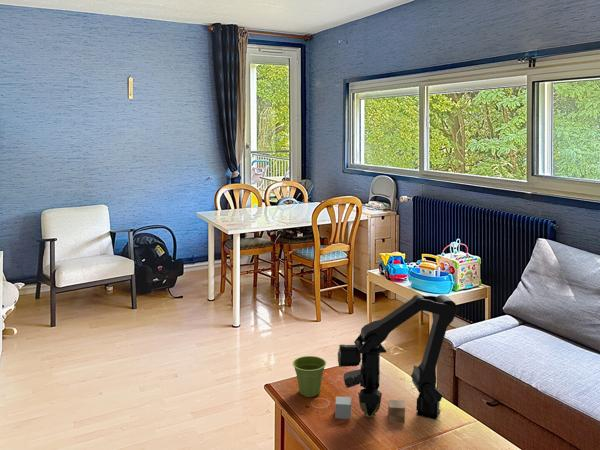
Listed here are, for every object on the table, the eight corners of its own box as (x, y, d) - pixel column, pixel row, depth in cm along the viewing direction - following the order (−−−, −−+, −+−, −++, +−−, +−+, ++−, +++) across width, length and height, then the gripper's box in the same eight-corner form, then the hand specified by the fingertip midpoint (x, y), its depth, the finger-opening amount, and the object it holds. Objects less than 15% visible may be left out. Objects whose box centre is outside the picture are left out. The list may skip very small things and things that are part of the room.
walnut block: (403, 414, 172) (404, 400, 171) (404, 422, 167) (405, 408, 166) (388, 413, 173) (388, 399, 172) (388, 421, 168) (389, 407, 167)
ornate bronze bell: (375, 424, 166) (375, 400, 165) (354, 418, 170) (354, 395, 168) (384, 414, 172) (385, 391, 171) (364, 408, 176) (364, 385, 175)
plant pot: (287, 389, 190) (286, 359, 188) (316, 382, 195) (316, 353, 193) (302, 403, 179) (302, 372, 177) (332, 396, 184) (332, 365, 182)
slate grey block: (351, 411, 174) (351, 397, 173) (350, 419, 169) (350, 404, 168) (336, 410, 175) (336, 396, 174) (335, 418, 170) (335, 403, 169)
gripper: (346, 352, 178) (346, 395, 181) (343, 376, 160) (343, 424, 163) (379, 353, 177) (378, 397, 179) (380, 378, 159) (379, 426, 161)
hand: (369, 410), depth 171 cm, fingers closed on ornate bronze bell, 6 cm apart
